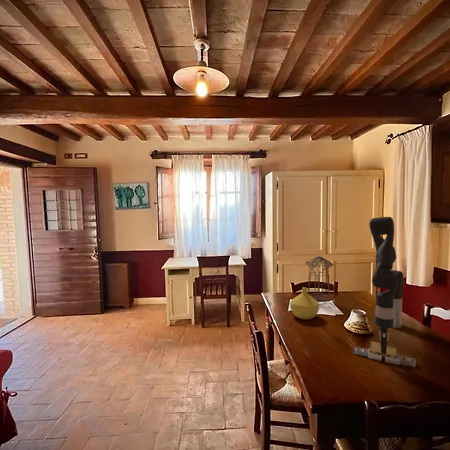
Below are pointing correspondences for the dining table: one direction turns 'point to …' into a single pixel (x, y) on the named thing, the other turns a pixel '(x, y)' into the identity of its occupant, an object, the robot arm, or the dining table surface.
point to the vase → (304, 305)
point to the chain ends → (388, 359)
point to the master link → (377, 349)
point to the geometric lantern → (319, 276)
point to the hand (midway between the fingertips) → (383, 349)
